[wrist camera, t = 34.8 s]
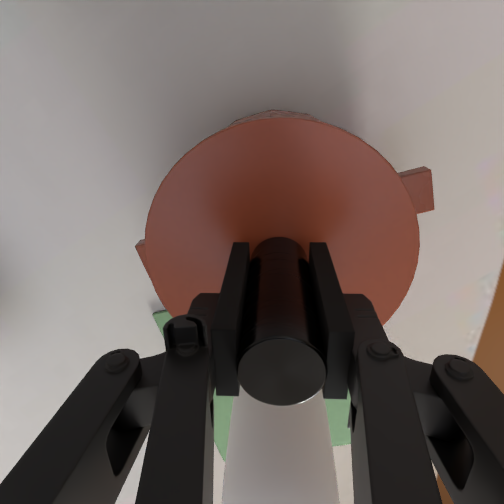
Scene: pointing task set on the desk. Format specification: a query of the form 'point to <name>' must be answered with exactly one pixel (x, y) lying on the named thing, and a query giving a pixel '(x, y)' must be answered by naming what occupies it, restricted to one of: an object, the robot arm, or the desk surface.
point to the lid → (282, 239)
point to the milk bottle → (279, 454)
